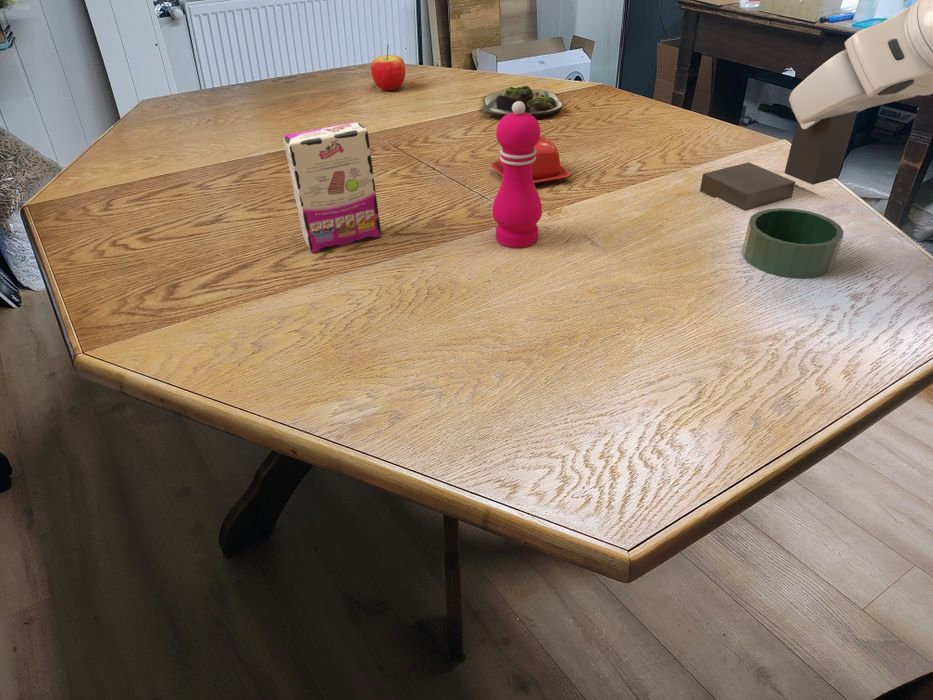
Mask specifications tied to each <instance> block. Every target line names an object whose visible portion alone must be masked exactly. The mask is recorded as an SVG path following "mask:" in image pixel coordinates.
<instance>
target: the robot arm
mask: <svg viewBox="0 0 933 700" xmlns="http://www.w3.org/2000/svg"><path fill="white" fill-rule="evenodd" d="M844 47H845V49H843V50H841V51H840V52H837V54H835V55H833V56H832V57H830V58H829V59H827V60H826V61H825V62H823V63H822V64H821V65H820V66H819V67H818V68H816V69H815V70H814V71H813V72H811V73H810V74H809V75H808V76H807V77H806V78H804V80H802V81H801V82H800V83H799V84H798V85H797V86H795V88H793V89H792V91H791V92H790V95H789V98H788V101H789V105H790V107H791V110H792V112H793V114H794V116H795V119H796V121H797V120H798V122H799V123H800V125H801V128H802V129H808V128H812V127H814V126H816V125H817V124H819V123H820V122H822V119H825V118H829V117H833V116H837V115H842V114H846V113H850V112H854V111H858V112H857V114H858V113H860V112H862V111H865V110H867V109H869V108H874V107H878V106H882V105H886V104H890V103H894V102H898V101H903V100H907V99H912V98H915V97H916V96H931V95H933V0H916V1H915V2H914V3H912V4H911V5H910V6H908V7H905V8H903V9H902V10H900V11H899V12H897V13H896V14H895V15H893V16H891V17H890V18H887V19H886V20H881V21H880V22H877V23H875V24H872V25H870V26H867V27H865V28H863V29H860V30H858V31H857V32H855V33H854V34H852V35H851V36H849V38H847V39H846V40H845V41H844Z"/></svg>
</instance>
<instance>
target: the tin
mask: <svg viewBox="0 0 933 700" xmlns="http://www.w3.org/2000/svg"><path fill="white" fill-rule="evenodd" d="M745 232H746V233H745V236H744V242H743V245H742V249H741V252H742V256H743V258H744V260H745V261H746V262H747V264H749V265H751V266H752V267H754V268H755V269H757V270H759V271H761V272H764V273H766V274H770V275H773V276H777V277H780V278H788V279H802V280H803V279H805V280H806V279H814V278H819V277H822V276H825V275H827V274H828V273H830V272H831V271H832V270H834V269H833V268H834V266H835V263H836V260H837V257H838V254H839V251H840V247H841V244H842V241H843V238H844V229H843V228H842V227H841V225H840V224H838V223H837V222H836V221H835V220H834V219H831V218H829V217H827V216H825V215H823V214H820V213H816V212H813V211H810V210H804V209H799V208H788V207H787V208H784V207H777V208H776V207H775V208H768V209H764V210H761V211H760V210H759V211H757V212H755V213H754V214H752V215H751V216H750V218H749V221H748V223H747V228H746V231H745Z"/></svg>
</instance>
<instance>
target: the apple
mask: <svg viewBox="0 0 933 700" xmlns="http://www.w3.org/2000/svg"><path fill="white" fill-rule="evenodd" d="M386 46H387V47H386V55H380V56H377V57H375V58H374V59H372V61H371V65H370V73H371V77H372V80H373V82H374V83H375V85H376V86H377V87H378V88H379V89H381V90H383V89H384V90H383V91H387V90H391V91H393V90H392V89H396V90H397V89H399V88H400V87H401V86H402V85H403V83H404V80H405V78H406V64H405V63H406V62H405V61H404V59H403V58H402V57H401V56H398V55H394V54H392V55H391V54H389V44H387V45H386Z"/></svg>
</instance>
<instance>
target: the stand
mask: <svg viewBox="0 0 933 700" xmlns="http://www.w3.org/2000/svg"><path fill="white" fill-rule="evenodd" d="M795 186H796V181H794V180H792V179H790V178H788V177H786V176H782V175H780V174H778V173H775V172H773V171H771V170H768V169H765V168H763V167H761V166H759V165H757V164H754V163H752V162H744V163H740V164H736V165H732V166H728V167H724V168H720V169H715V170H712V171H708V172H704V173H702V177H701V183H700V188H699V189H700V190H699V191H700V192H702V193H704V194H706V195H708V196H709V197H712V198H714V199H716V198H717V199H720V200H721V201H724V202H725V203H728V204H730V205H731V206H734V207H736V208H738V209H740V210H742V211H745V212H746V211H749V210H752V209H756V208H760V207H763V206H767V205H771V204H774V203H778V202H781V201H785V200H787V199H792V196H793V193H794V189H795Z"/></svg>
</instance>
